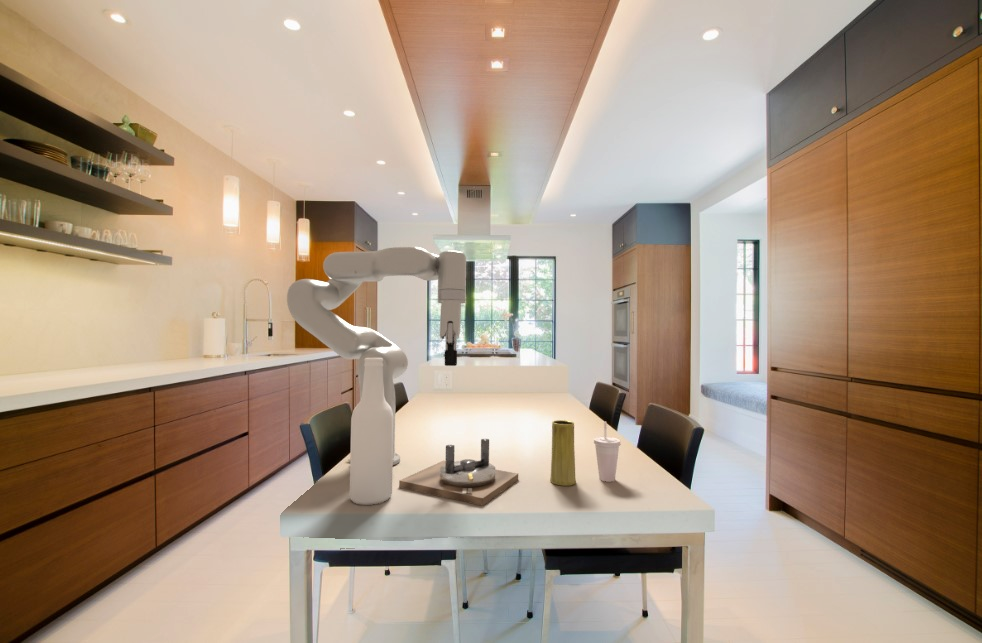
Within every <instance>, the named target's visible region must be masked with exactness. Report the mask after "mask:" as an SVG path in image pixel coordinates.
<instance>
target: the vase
mask: <svg viewBox="0 0 982 643" xmlns="http://www.w3.org/2000/svg"><path fill="white" fill-rule="evenodd" d="M551 424H552V425H551V427H552V429H551V432H552V433H551V434H552V436H551V460H550V461H551V464H550V465H551V466H550V479H549V480H550V482H551V483H552V484H553V485H556V486H561V487H562V486H563V487H569V486H574V485H575V484H576V483H577V480H576V479H577V478H576V458H575V457H576V455H575V453H576V452H575V423H574V421H572V420H566V419H564V420H560V419H557V420H553V421H552V423H551Z"/></svg>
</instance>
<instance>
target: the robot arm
mask: <svg viewBox="0 0 982 643" xmlns="http://www.w3.org/2000/svg"><path fill="white" fill-rule="evenodd" d="M322 266H323V268H322V269H323V271H324V273H325V275H326V276H327V278H329V279H328V280H327V281H323V280H317V279H314V278H313V279H312V278H311V279H310V278H303V279H302V278H301V279H298V280H295V281H294V282H293V283H291V285H290V286H289V287H288V290H287V293H286V303H287V304H286V305H287V308H288V311H289V313H290V315H291V317H292V318H293V320H295V322H296V323H297V324H298V325H299V326H300V327H302V329H304V330H305V331H307V332H308V333H309V334H311V335H312V336H313V337H315V338H316V339H317V340H318V341H320V342H321V343H322V344H323V345H325V346H326V347H328V348H329V349H331V351H333V352H334V353H335V354H337V355H338V356H340V357H341V358H342V359H345V360H357V361H358V362H357V366H356V367H357V368H356V370H357V377H358V383H359V401H360V400H361V398H362V390H363V380H364V370H365V366H364V364H365V361H364V359H365V358H382V359H383V362H382V363H383V366H382V368H383V385H384V397H385V400H386V402H387V403H388V404H389V405H390V407H391V408H392V412H393V466H395V465H397V464H399V463H400V461H401V455H400V454H398V453H396V452H395V451H396V448H395V447H396V445H395V444H396V439H395V438H396V389H395V384H394V379H397V378H399V377H401V376H402V375H403V374H405V372H406V371H407V369H408V364H409V362H408V361H409V360H408V356H407V355H406V353H405V351H404V350H403V349H401V347H399V346H397V345H396V344H395V343H394V342H392V341H390V340H389V339H388V338H386V337H385V336H383V334H381V333H380V332H378V331H376V330H374V329H372V328H370V327H366V326H356V325H352V324H350V323H348V322H347V321H346V320H344V319H343V318H341V317H340V316H339V315H338V314H336V313H334V312H332V310H334V309H337V308H338V307H340V305H342V304H343V303H344V302H345V301H346V300H347V299H348V298H349V297H350V296H351V295H353V293H355V291H356V290H357V289H359V288H360V286H361V285H362V284H363V283H364V282H367V283H368V282H374V283H375V282H381V281H382V280H383V279H384V278H385V277H390V276H391V277H393V276H396V277H397V276H400V277H401V276H406V277H407V276H409V277H410V276H411V277H412V276H413V277H416V278H418V279H420V280H423V281H426V282H427V281H429V282H430V281H437V303H438V304H441V305H440V314H439V317H440V321H439V338H440V339H441V340H445V350H444V366H449V367H451V366H452V367H455V366H457V365H458V350H457V340H458V339H459V338H460V332H461V325H462V324H461V322H462V321H461V320H462V319H461V318H462V304H466V302H467V301H466V298H467V297H466V296H467V294H466V287H467V283H466V280H467V278H466V277H467V276H466V275H467V256H466V254H465V253H463V251H459V250H444V251H441V252H440V253H439V254H434V253H432V252H430V251H428V250H426V249H425V248H422V247H418V246H400V247H399V246H398V247H397V246H396V247H395V246H394V247H386V248H383V249H379V250H373V251H372V250H371V251H370V250H369V251H339V252H338V251H337V252H332V253H330V254H328V255H327V256H326V257H325V258H324V261H323V264H322ZM350 451H351V448H350Z"/></svg>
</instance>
